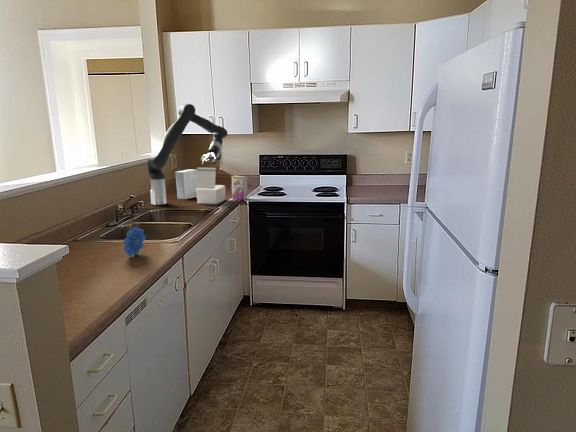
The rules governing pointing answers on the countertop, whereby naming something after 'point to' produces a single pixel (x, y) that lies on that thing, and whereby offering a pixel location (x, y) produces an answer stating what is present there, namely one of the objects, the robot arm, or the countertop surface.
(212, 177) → the flap
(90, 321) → the countertop surface
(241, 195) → the candy bar box
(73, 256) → the countertop surface
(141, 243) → the grapes
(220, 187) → the carton
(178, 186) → the hard drive box
